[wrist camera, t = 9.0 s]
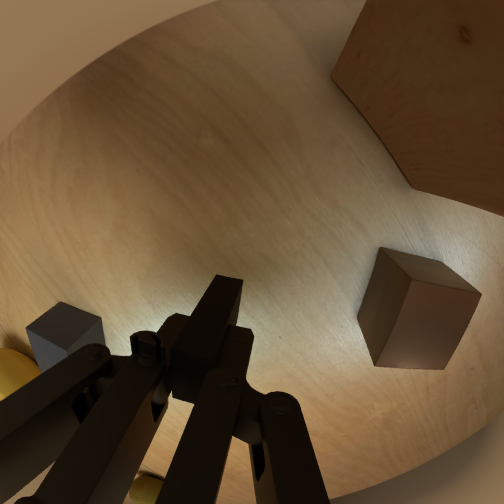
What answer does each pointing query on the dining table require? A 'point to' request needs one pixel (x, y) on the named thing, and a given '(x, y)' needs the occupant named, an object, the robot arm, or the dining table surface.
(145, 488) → the apple
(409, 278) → the walnut block
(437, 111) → the wooden block
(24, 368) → the vase
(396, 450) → the dining table surface
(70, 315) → the slate block
